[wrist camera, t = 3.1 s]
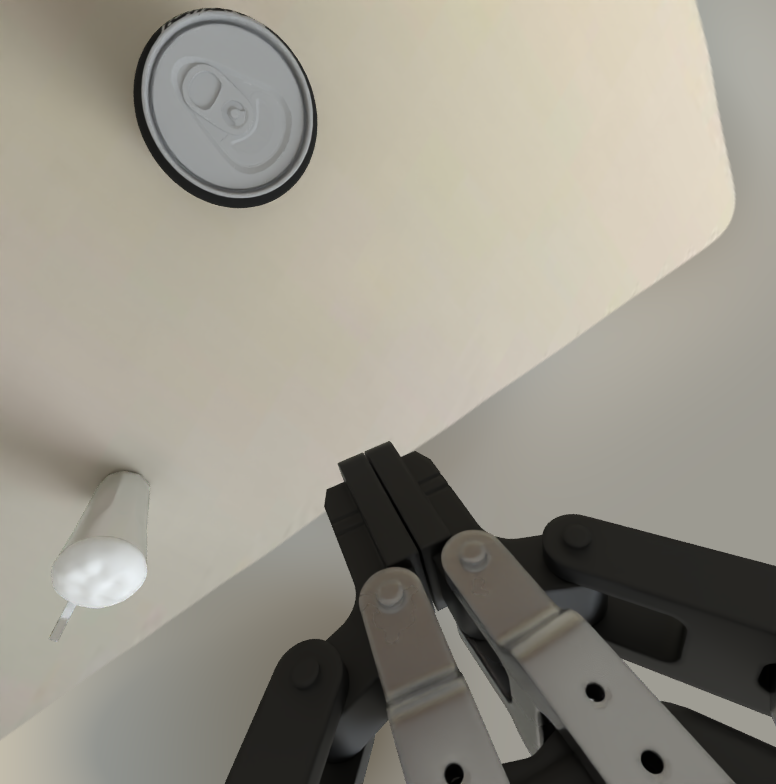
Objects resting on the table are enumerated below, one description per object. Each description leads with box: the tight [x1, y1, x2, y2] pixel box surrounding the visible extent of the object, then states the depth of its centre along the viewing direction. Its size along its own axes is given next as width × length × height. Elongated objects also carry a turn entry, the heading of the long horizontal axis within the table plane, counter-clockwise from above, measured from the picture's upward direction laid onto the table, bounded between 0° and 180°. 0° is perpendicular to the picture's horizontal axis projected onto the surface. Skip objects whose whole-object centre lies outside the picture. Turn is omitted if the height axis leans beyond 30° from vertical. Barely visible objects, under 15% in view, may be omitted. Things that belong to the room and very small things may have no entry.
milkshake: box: [49, 471, 150, 642], centre depth 30 cm, size 4×5×10 cm
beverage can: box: [134, 8, 317, 208], centre depth 23 cm, size 7×7×12 cm
